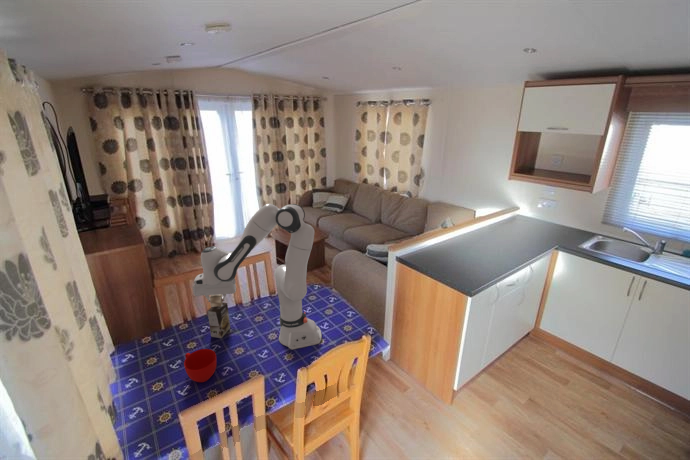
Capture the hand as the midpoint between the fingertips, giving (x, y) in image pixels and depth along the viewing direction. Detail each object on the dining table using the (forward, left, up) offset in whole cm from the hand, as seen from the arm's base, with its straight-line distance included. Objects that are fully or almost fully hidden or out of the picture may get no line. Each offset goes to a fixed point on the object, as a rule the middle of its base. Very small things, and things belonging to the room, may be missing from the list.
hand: (216, 301), depth 165 cm
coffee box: (0, 0, -20) cm, 20 cm away
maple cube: (0, 0, -2) cm, 2 cm away
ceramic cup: (+3, +29, -20) cm, 36 cm away
